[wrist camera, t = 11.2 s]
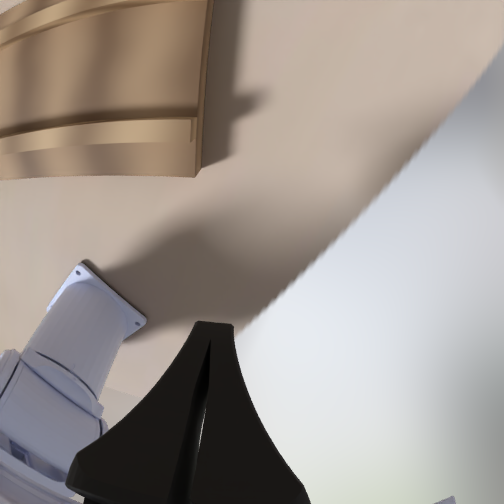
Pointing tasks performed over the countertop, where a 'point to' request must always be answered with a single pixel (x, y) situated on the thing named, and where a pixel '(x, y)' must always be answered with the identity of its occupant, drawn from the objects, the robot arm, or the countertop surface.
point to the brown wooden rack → (103, 87)
